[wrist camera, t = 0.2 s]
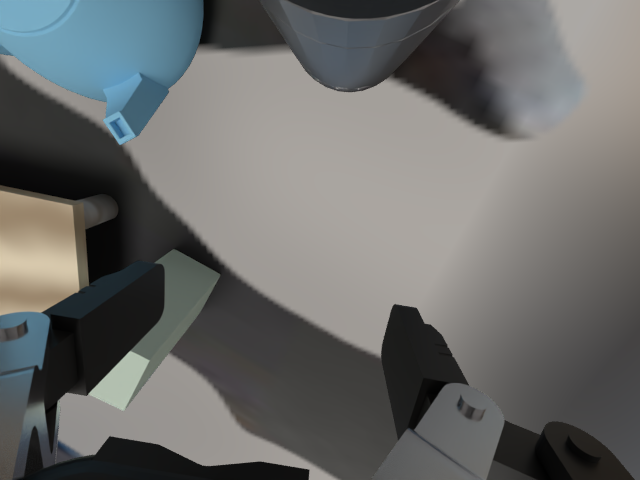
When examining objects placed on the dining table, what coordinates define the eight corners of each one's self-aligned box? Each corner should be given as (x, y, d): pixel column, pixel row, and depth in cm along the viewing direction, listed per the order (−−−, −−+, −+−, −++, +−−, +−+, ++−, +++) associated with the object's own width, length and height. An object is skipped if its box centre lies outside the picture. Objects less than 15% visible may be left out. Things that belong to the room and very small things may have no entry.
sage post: (174, 248, 30) (72, 321, 19) (220, 274, 31) (149, 360, 19) (155, 287, 32) (51, 377, 20) (200, 311, 32) (123, 410, 21)
